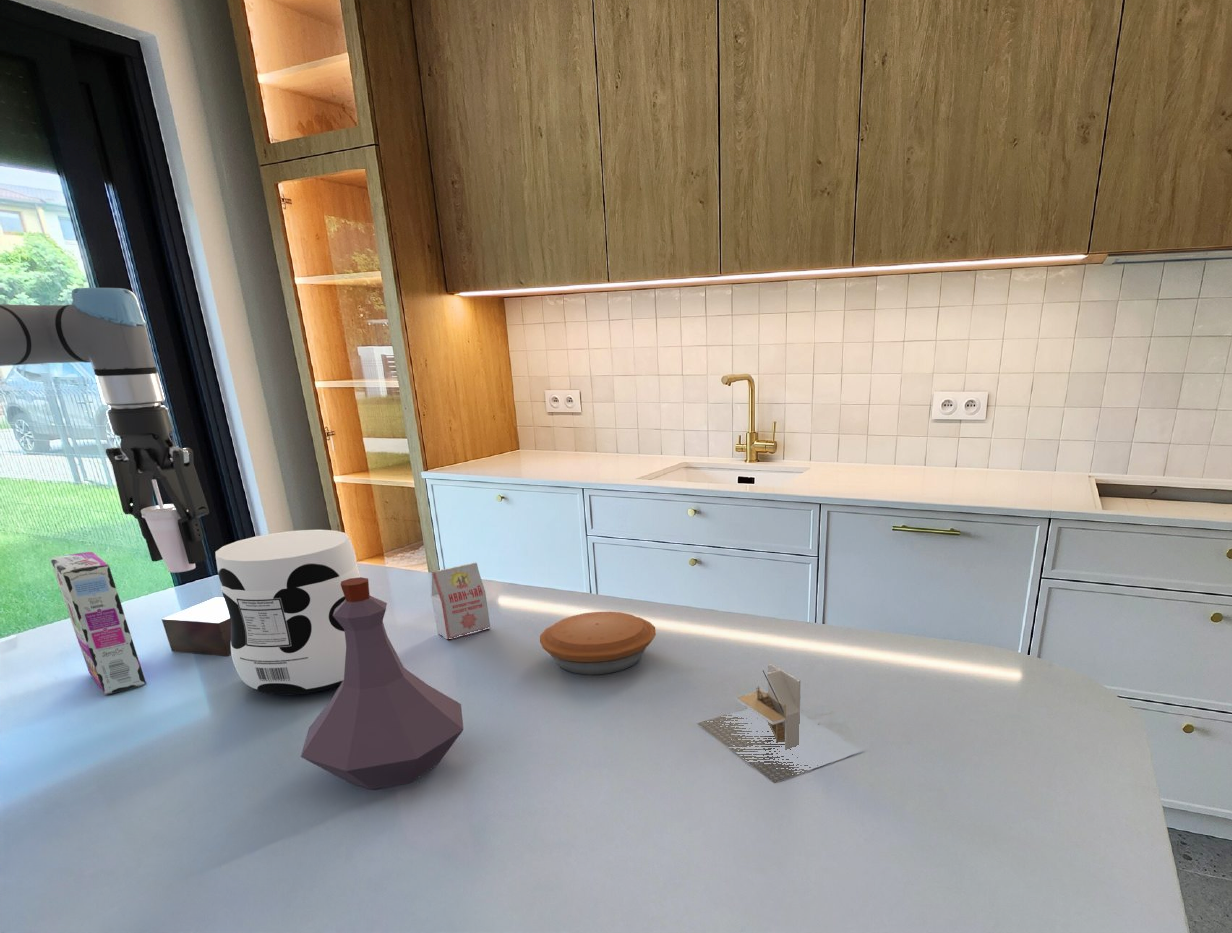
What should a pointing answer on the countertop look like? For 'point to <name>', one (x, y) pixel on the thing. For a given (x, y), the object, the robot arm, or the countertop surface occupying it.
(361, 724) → the flask
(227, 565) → the milk container
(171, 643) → the walnut block
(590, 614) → the pie
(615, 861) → the countertop surface
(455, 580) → the tea bag
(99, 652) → the candy bar box
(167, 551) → the smoothie
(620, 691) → the countertop surface
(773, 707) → the architectural model
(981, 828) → the countertop surface
